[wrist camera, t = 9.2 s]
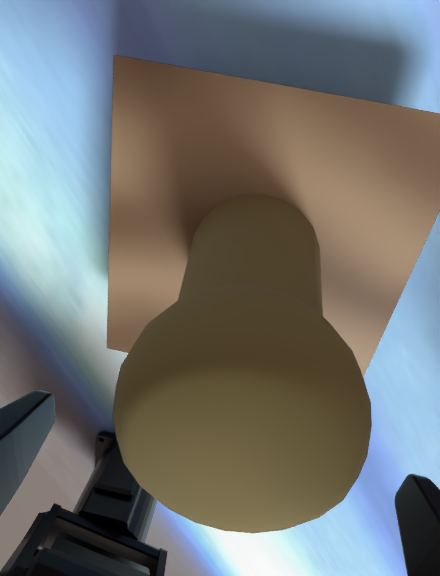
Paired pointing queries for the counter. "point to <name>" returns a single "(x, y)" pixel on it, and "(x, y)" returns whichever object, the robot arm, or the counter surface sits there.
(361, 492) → the counter surface
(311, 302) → the cork
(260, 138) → the shelf board
